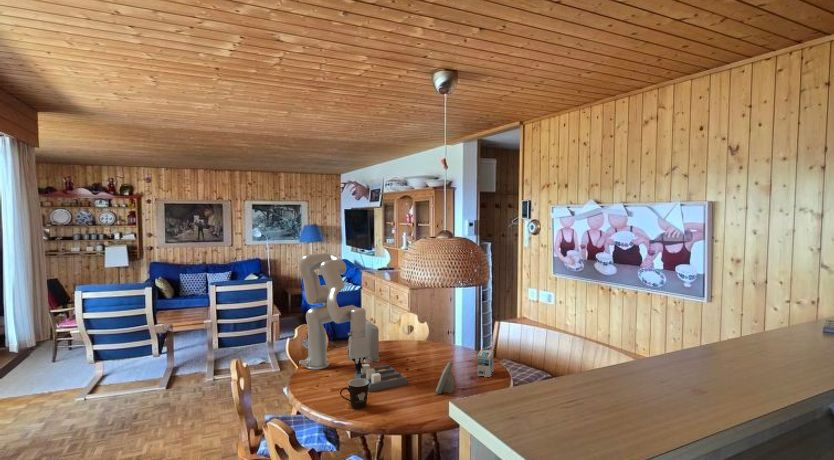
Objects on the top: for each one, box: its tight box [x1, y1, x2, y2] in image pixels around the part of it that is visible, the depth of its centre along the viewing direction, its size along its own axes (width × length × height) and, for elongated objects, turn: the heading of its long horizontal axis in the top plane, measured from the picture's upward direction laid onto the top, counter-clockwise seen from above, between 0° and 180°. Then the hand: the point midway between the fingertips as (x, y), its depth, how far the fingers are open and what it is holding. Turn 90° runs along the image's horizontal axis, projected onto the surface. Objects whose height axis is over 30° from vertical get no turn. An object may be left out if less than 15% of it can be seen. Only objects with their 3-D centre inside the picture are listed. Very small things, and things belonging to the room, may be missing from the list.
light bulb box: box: [476, 349, 494, 378], centre depth 214 cm, size 11×7×11 cm, turn 161°
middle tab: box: [366, 367, 375, 379], centre depth 203 cm, size 4×3×4 cm
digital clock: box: [435, 361, 456, 395], centre depth 195 cm, size 16×9×11 cm, turn 154°
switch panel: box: [353, 364, 409, 393], centre depth 205 cm, size 20×20×3 cm
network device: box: [363, 318, 381, 364], centre depth 239 cm, size 26×9×20 cm, turn 25°
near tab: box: [371, 373, 381, 383], centre depth 197 cm, size 4×3×4 cm
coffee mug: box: [339, 378, 369, 410], centre depth 177 cm, size 12×9×10 cm
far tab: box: [361, 363, 371, 374], centre depth 209 cm, size 4×3×4 cm
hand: (358, 370), depth 207 cm, fingers closed
